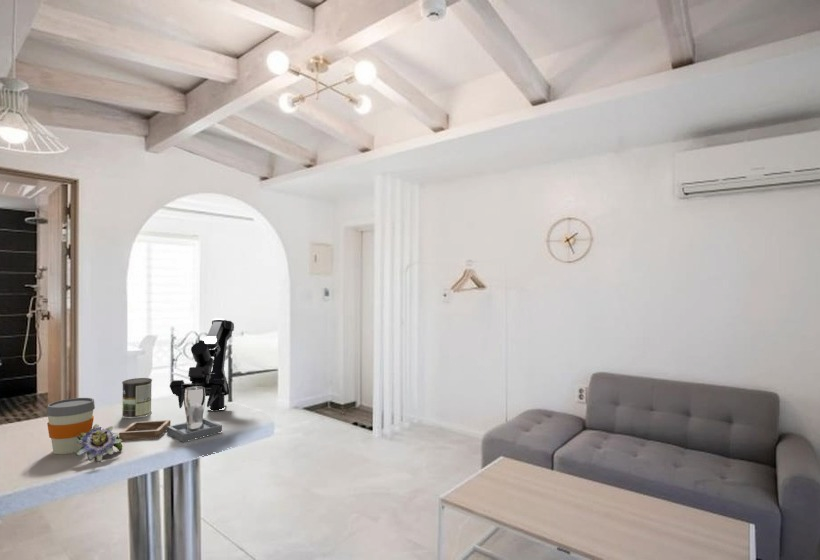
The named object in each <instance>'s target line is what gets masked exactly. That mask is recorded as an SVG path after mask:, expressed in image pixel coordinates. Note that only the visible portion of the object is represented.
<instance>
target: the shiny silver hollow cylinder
mask: <svg viewBox="0 0 820 560" xmlns="http://www.w3.org/2000/svg"><path fill="white" fill-rule="evenodd" d="M183 405H184V413H185V417H186V419H185V420H186V428H185V431H186V432H194V431H198V430H202V429H204V425H203V417H204V411H205V407H206V396H205V387H204V386H192V387H187V388H185V393H184V401H183Z"/></svg>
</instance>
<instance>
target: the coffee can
mask: <svg viewBox="0 0 820 560" xmlns="http://www.w3.org/2000/svg"><path fill="white" fill-rule="evenodd" d="M152 382H153V379H152V378H150V377H137V378H136V377H135V378H129V379H126V380H123V381H122V410H121V411H122V414H121V417H122V419H126V418H135V419H139V418H138V417H142V418H144V417H143V416H146V415H148V416H150V415H151V414H152ZM149 414H150V415H149ZM146 417H147V416H146Z"/></svg>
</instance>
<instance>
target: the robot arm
mask: <svg viewBox="0 0 820 560" xmlns="http://www.w3.org/2000/svg"><path fill="white" fill-rule="evenodd" d="M211 320H212V321H211V326H210V329H209V331H208V333H207V335H206V337H205V338H203V339H200V340H198V342H195V343H194V344H193V345H192V346H191V348H190V350H191V354H192V357H193V359H194V362H196V364H195V366H191V367H189V369H188V375H187V376H188V377H189V381H190V382H191V383H185V381H184V380H183V379H173V380H171V381H170V383H169V388H170V390H171V392H172V395H175V396H176V397H177V399H178V406H179V409H182V408H183V405H184V393H185V388H187V387H192V386H204V387H205V397H208V399H207V403H206V407H207V408H210V409H211V410H219V409H222V408H224V407H226V408H227V404H225V396H227V395H228V396H229V395H230V386H229V384H228V379H227V377H226V375H225V373H224V371H225V363H226V355H227V354H226V353H227V345H228V341H229V340H230V338H231V337H232V335H233V332H234V330H235V325H234V324H235V323H234V322H233V321H231V320H227V319H224V318H214V319H211Z"/></svg>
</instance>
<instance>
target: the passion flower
mask: <svg viewBox="0 0 820 560" xmlns="http://www.w3.org/2000/svg"><path fill="white" fill-rule="evenodd" d="M113 428H114V426H112V425H111V426H109V427H106V428H102V426H100V425H99V424H96V423H95V424H94V425H93V426H92V430H90V431H89V432H86V433H81V434H80V435H81V436H80V437H79V436H78V435H77V438H78V439H79V441H77V443H79V444H82V447H81V449H79V450H78V451H77V452H74V453H75V456H81V455H83V454H85V453H86V455H87V460H88V461H89V462H90V461H92V460H93V459H95V460H96V462H97V463H98V462H100V461H102V459H103V457H104V456H103V455H104V454H105V453H106V454H107V455H113V454H114V449H113V448H114V447H115V448H116V449H117V450H118V451H119V453H121V452H122V450H123V444H122V443H123V440H121V439H120V438H119V433H120V432H113ZM84 435H85V436H84ZM81 437H82V439H81Z"/></svg>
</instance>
